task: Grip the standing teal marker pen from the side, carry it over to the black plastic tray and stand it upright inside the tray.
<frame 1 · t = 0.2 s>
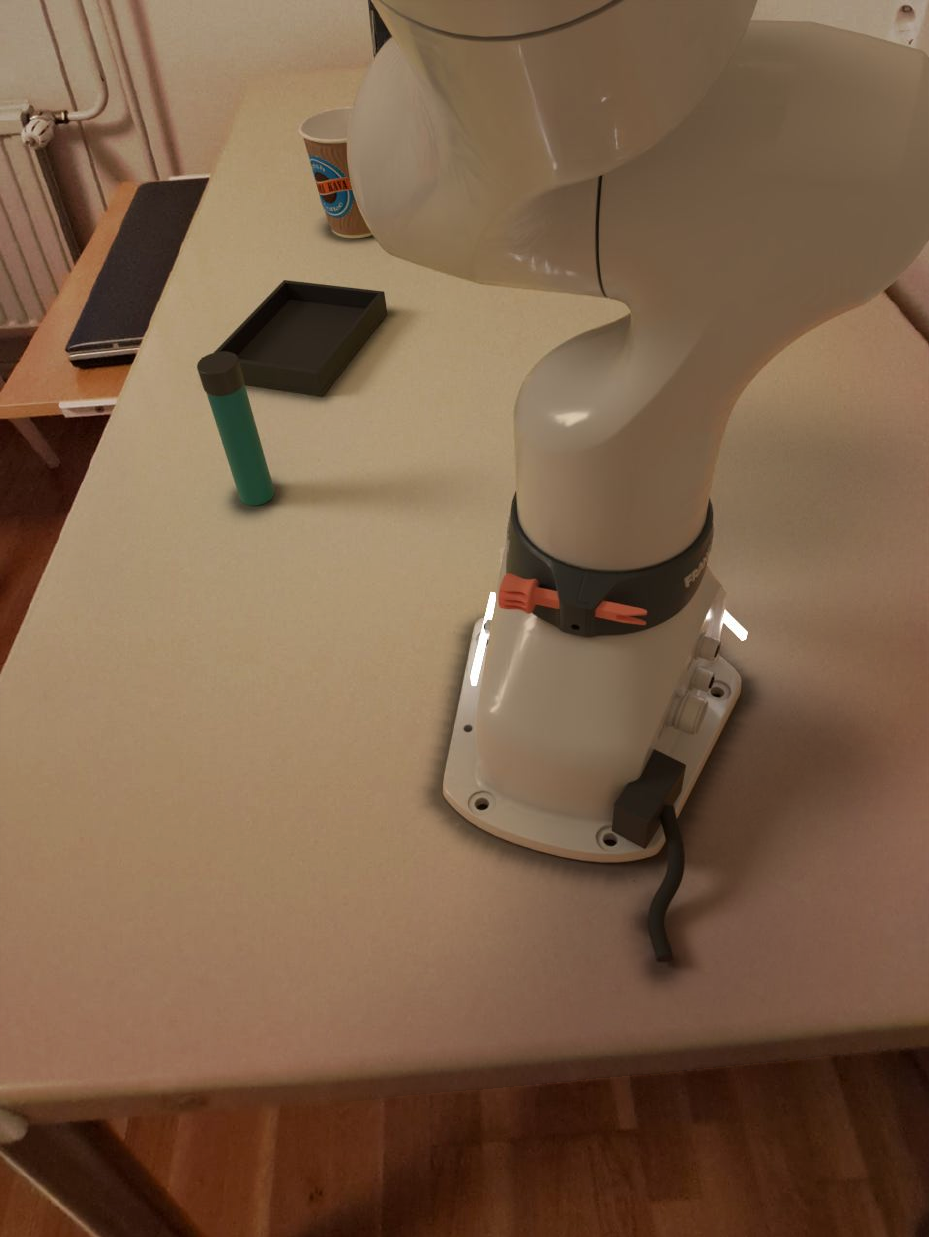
tray: (304, 345, 97), on the table
coffee cup: (359, 227, 116), on the table
marker: (257, 494, 81), on the table
box: (519, 186, 121), on the table
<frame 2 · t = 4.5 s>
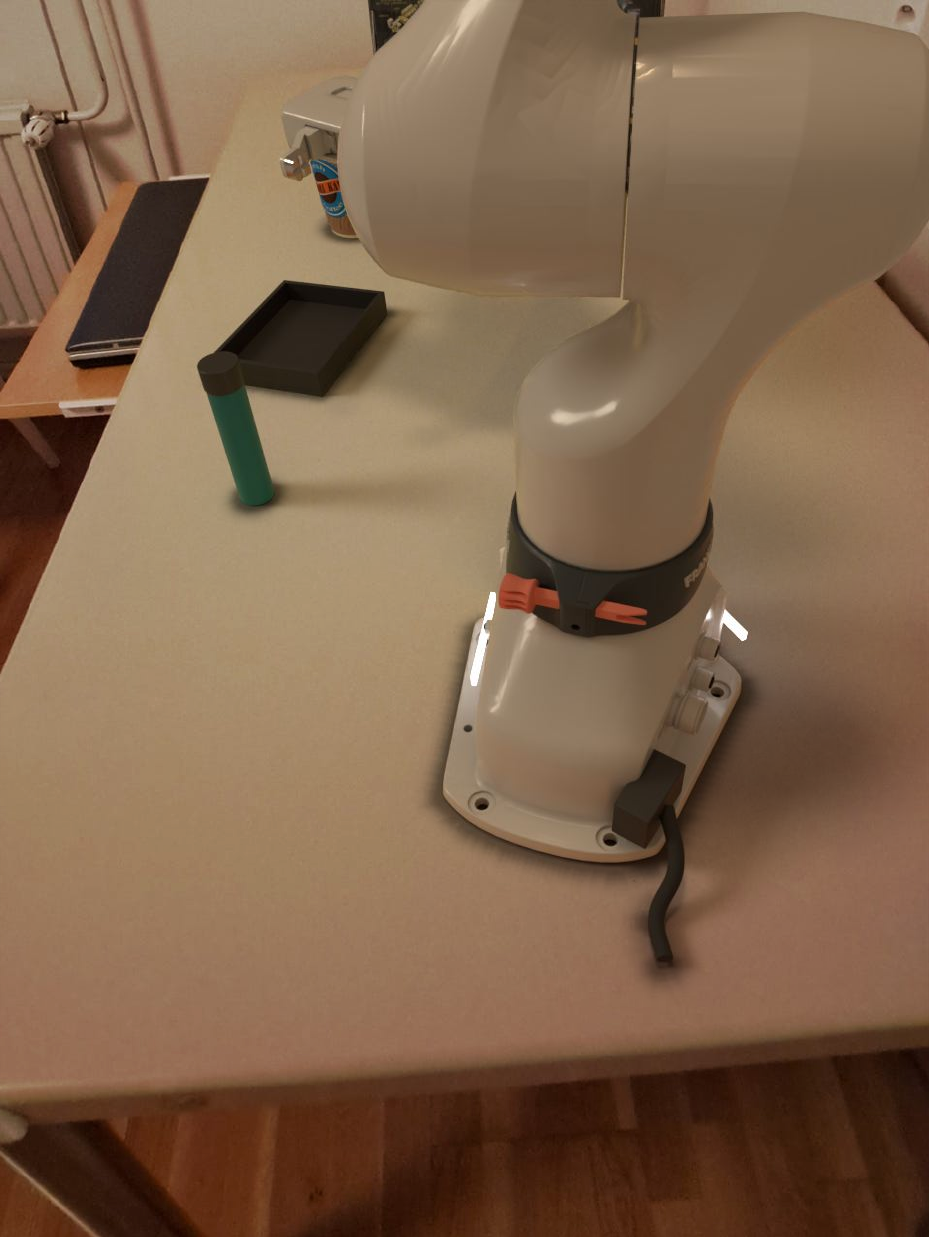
hand: (332, 184, 72), 21 cm above the table, tool horizontal, fingers open, 8 cm apart
nothing on the table moved.
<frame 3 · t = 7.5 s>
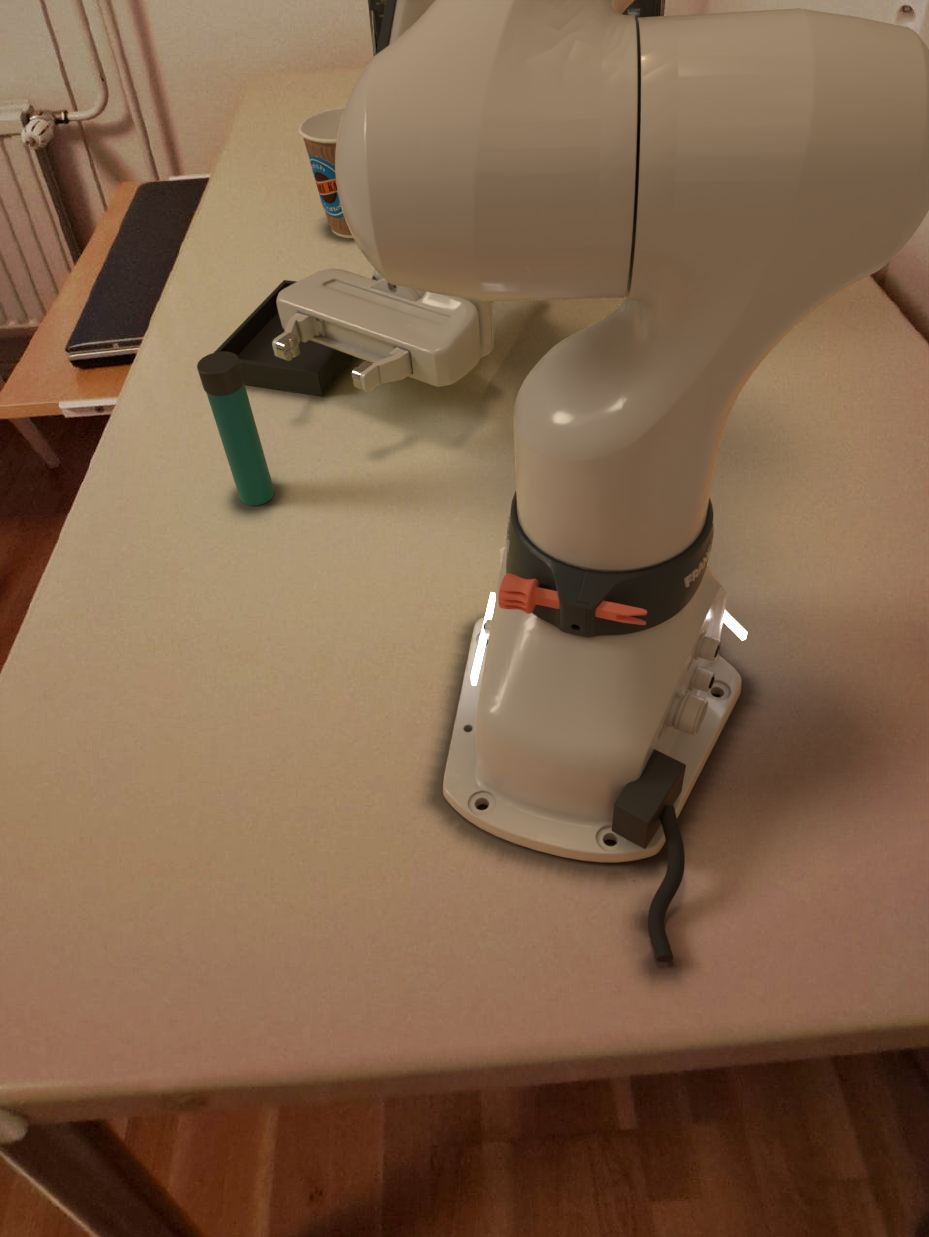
hand: (317, 366, 80), 7 cm above the table, tool horizontal, fingers open, 8 cm apart
nothing on the table moved.
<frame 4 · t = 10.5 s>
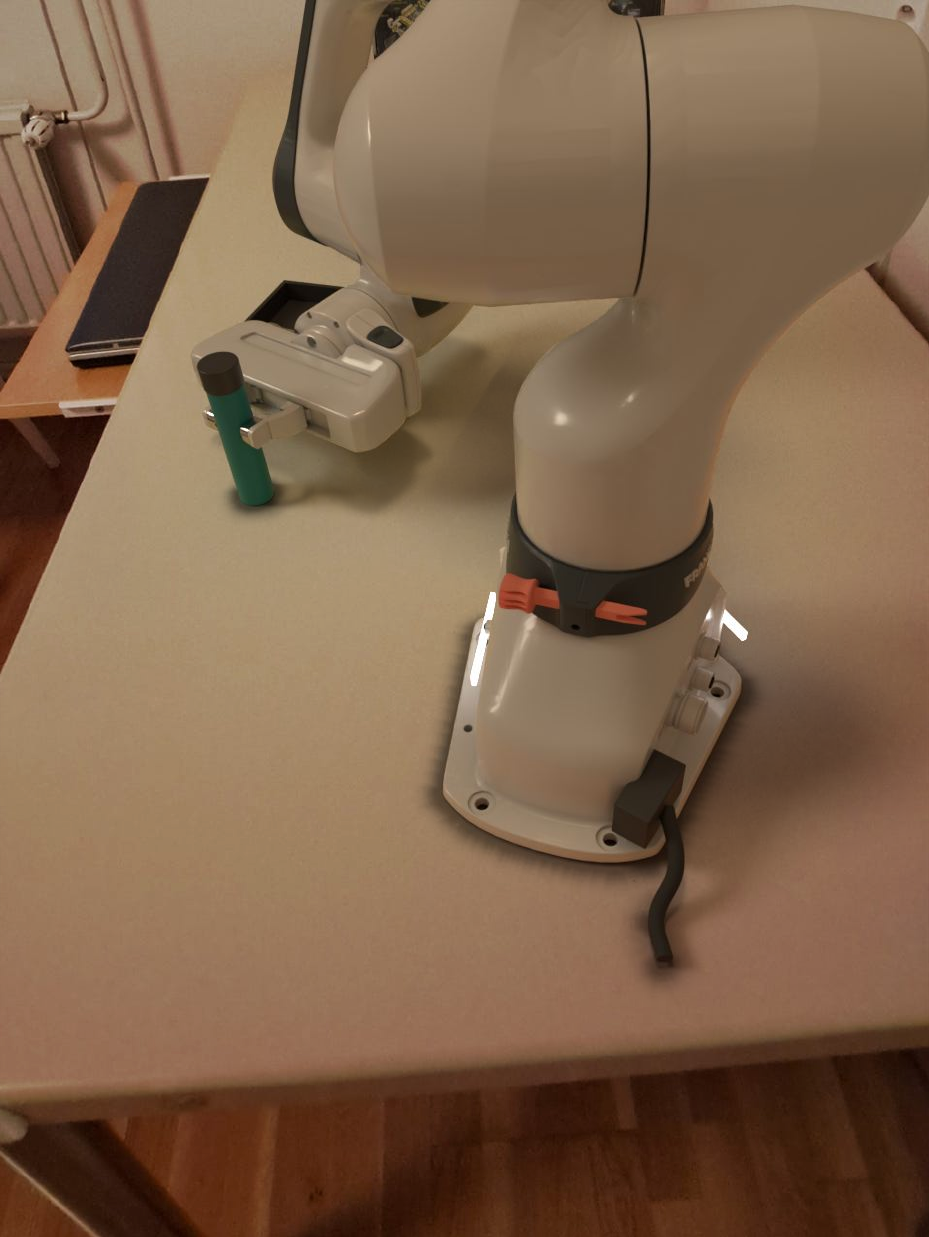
hand: (228, 430, 75), 7 cm above the table, tool horizontal, fingers closed on marker, 3 cm apart
marker: (257, 494, 81), on the table, touching gripper
everything else where it was.
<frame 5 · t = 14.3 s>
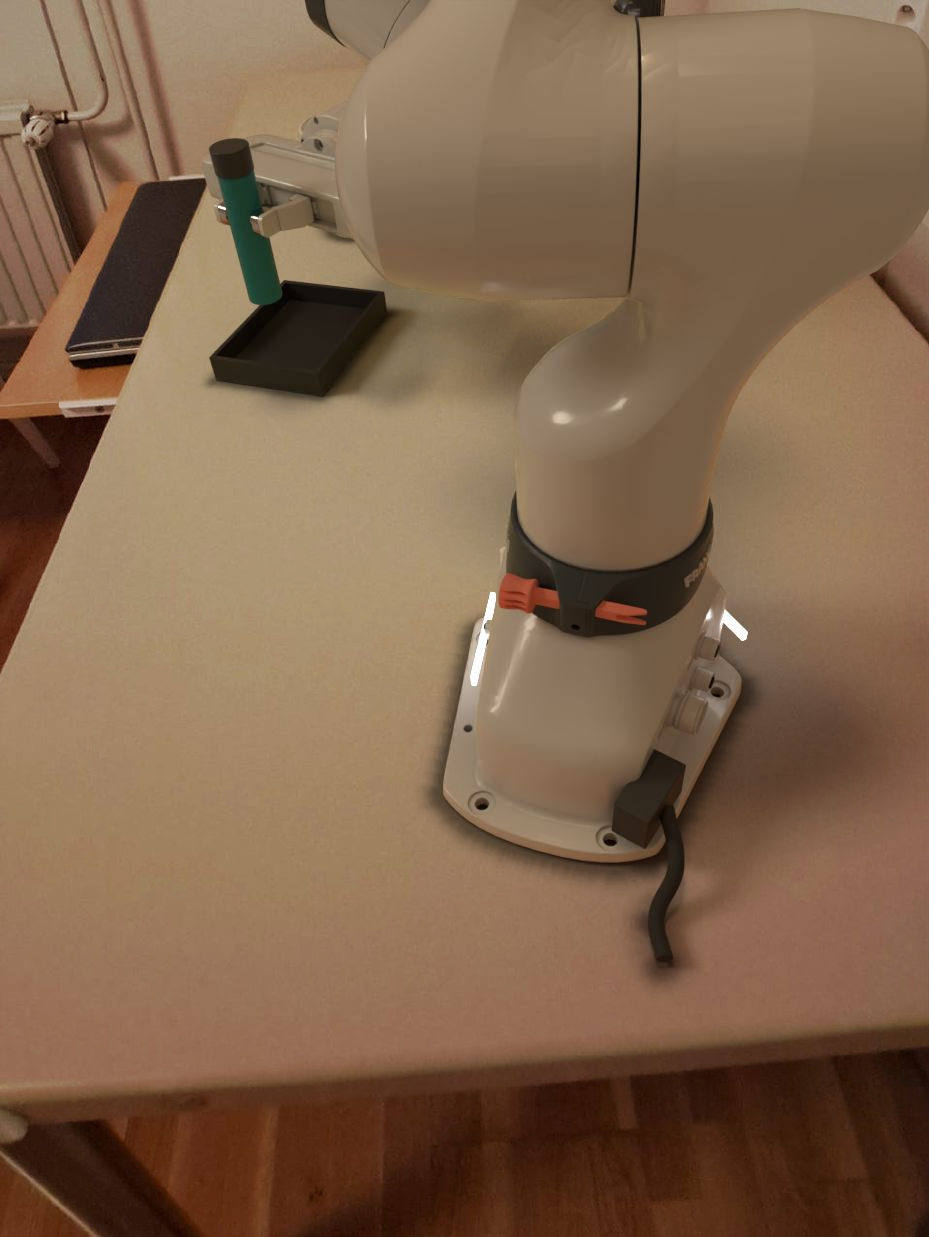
hand: (239, 221, 78), 17 cm above the table, tool horizontal, fingers closed on marker, 3 cm apart
marker: (265, 296, 84), point 10 cm above the table, touching gripper
everything else where it was.
when the fingers open (8 cm above the table, at t = 18.3 s): marker stays where it is, resting on tray.
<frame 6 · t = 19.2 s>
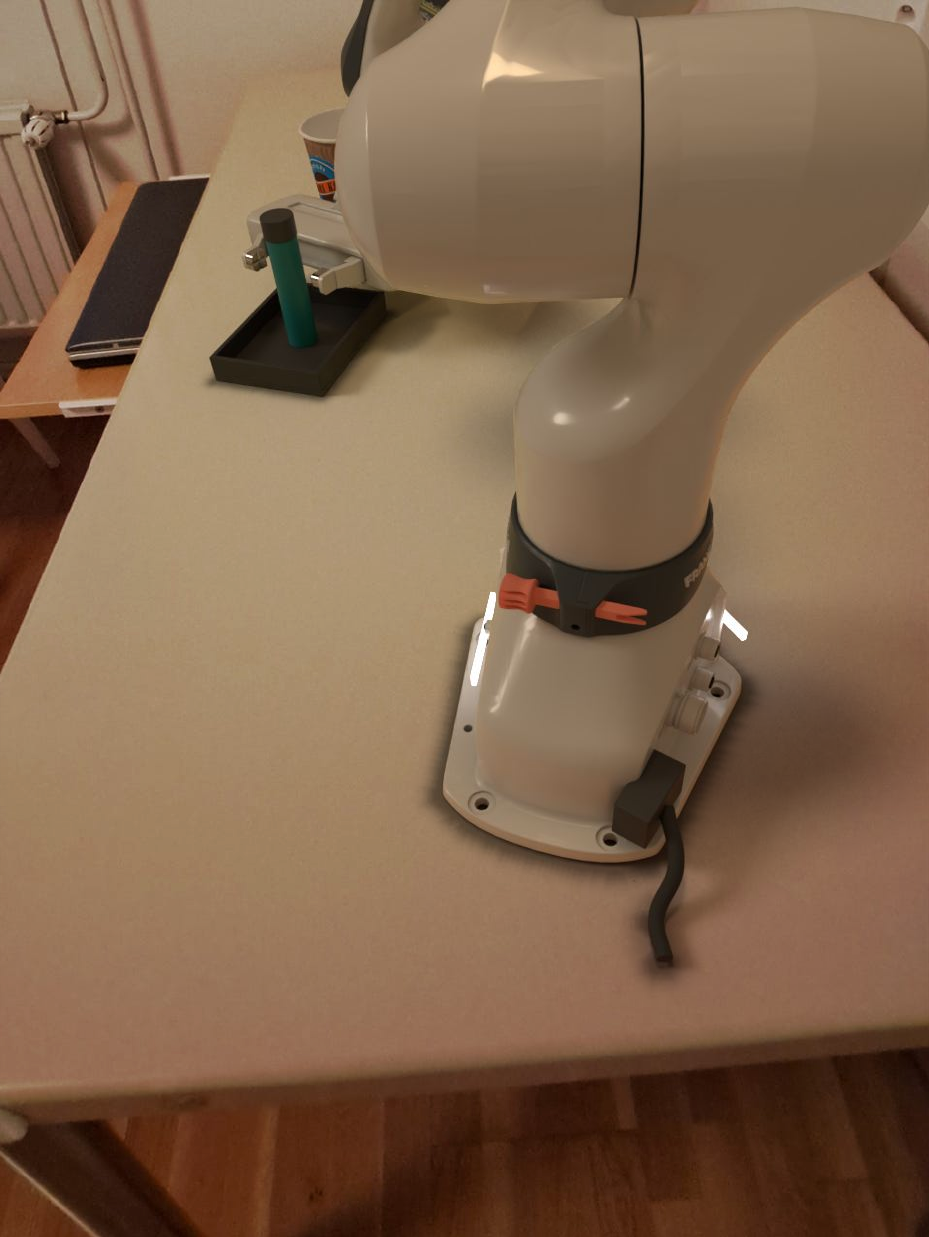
hand: (281, 274, 91), 8 cm above the table, tool horizontal, fingers open, 8 cm apart
marker: (303, 340, 97), point 1 cm above the table, touching tray
everything else where it was.
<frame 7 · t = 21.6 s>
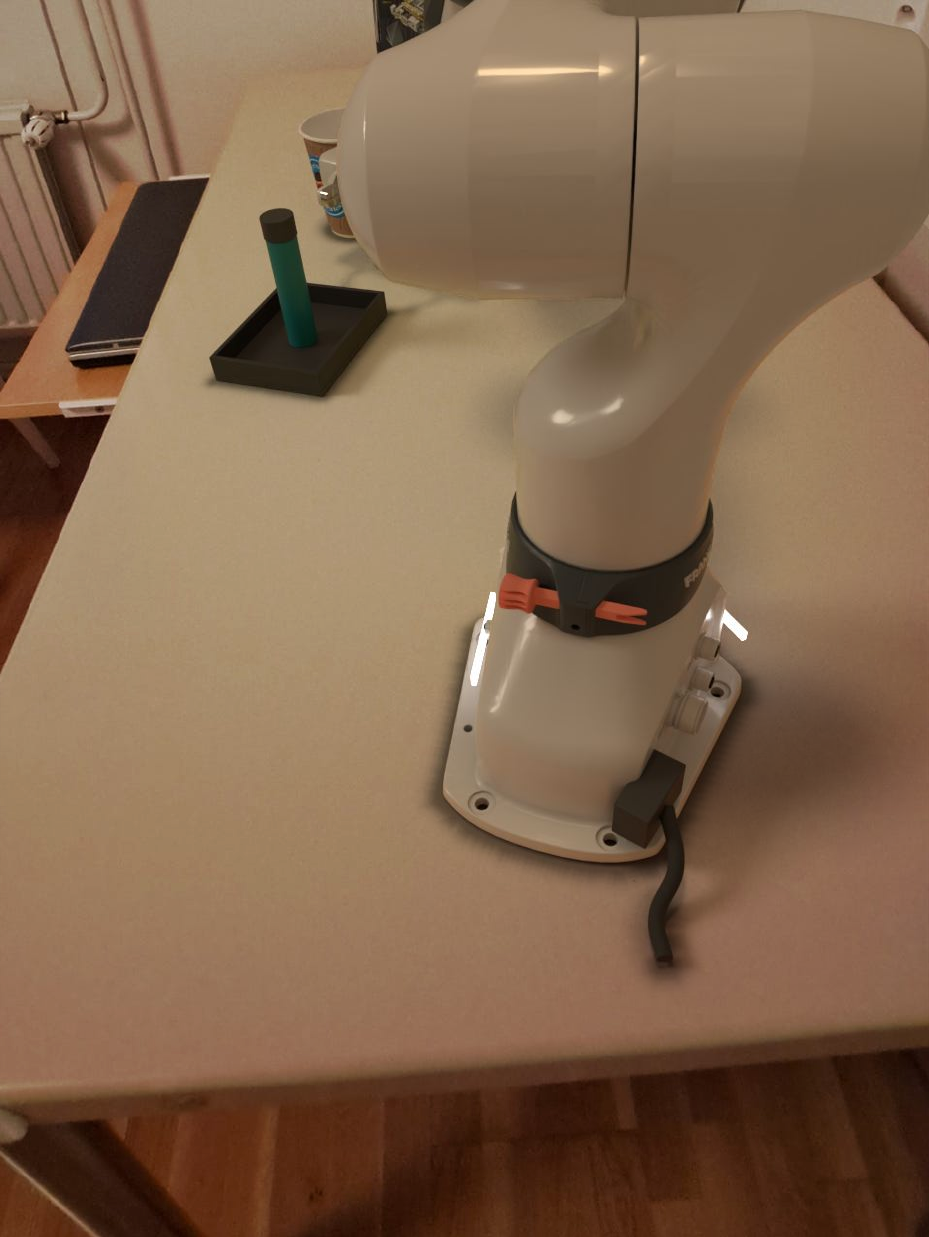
hand: (356, 209, 95), 10 cm above the table, tool horizontal, fingers open, 8 cm apart
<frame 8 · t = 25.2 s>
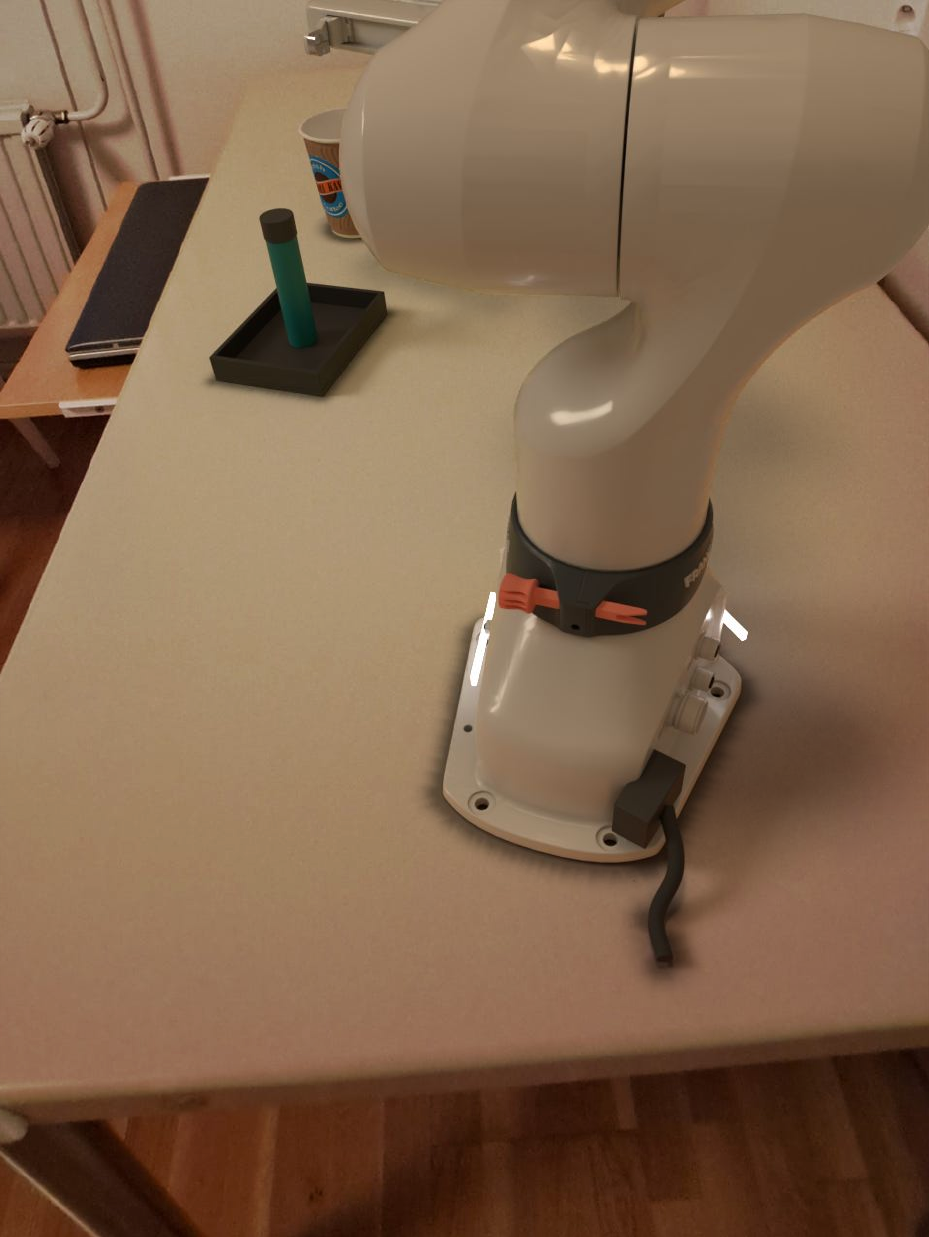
hand: (348, 52, 83), 25 cm above the table, tool horizontal, fingers open, 8 cm apart
at the end: marker inside the target area in the tray (0.1 cm from its centre), point 0.6 cm above the tray's base; marker tilted 0°; the gripper is holding nothing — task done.
